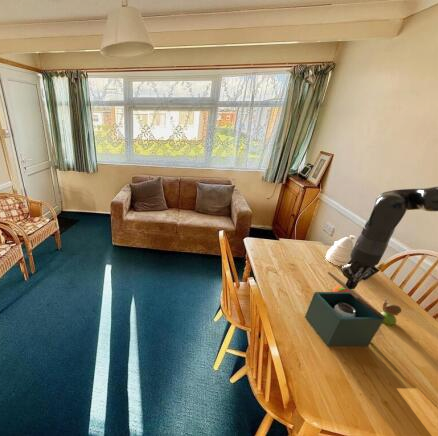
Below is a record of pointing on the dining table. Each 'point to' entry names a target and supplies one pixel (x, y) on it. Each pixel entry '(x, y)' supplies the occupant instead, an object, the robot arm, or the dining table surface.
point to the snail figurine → (390, 313)
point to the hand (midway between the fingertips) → (349, 287)
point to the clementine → (340, 289)
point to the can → (344, 310)
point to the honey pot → (341, 251)
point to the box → (342, 320)
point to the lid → (356, 295)
